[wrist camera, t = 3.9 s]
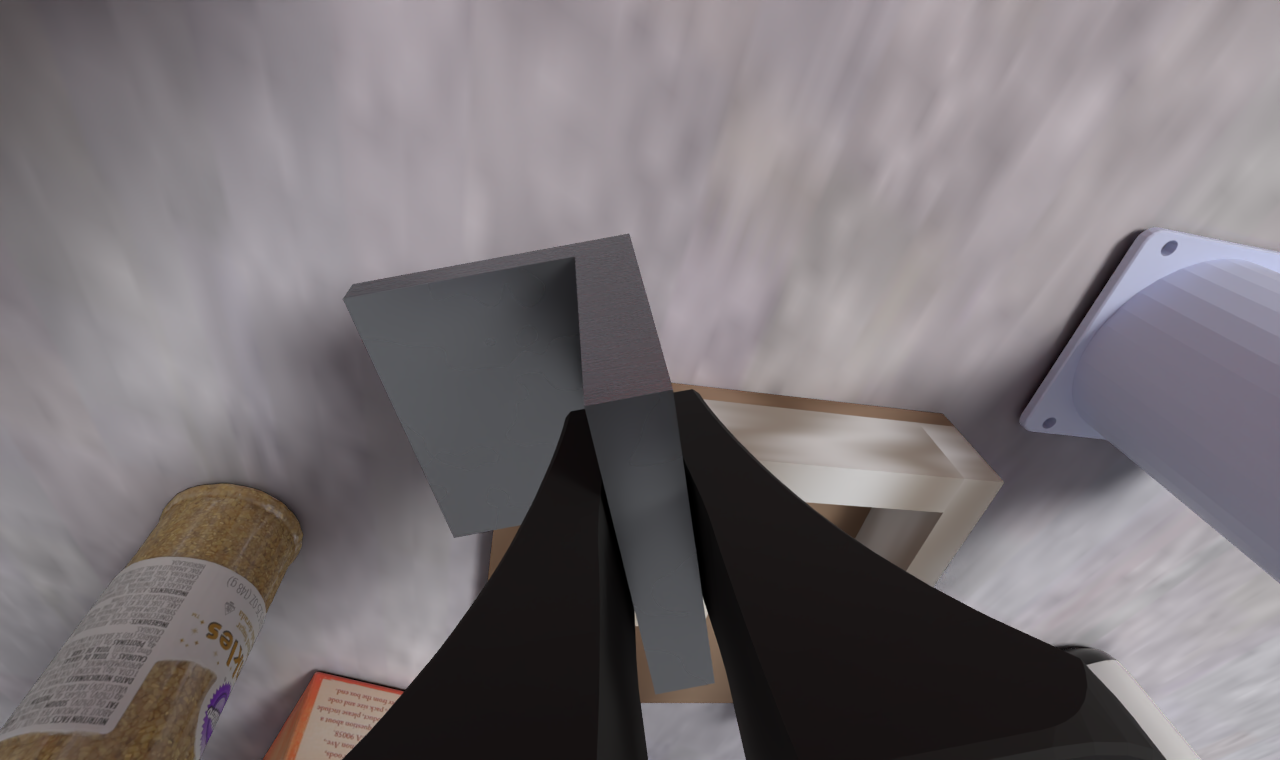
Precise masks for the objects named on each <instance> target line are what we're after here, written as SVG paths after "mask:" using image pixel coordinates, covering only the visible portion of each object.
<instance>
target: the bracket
mask: <svg viewBox="0 0 1280 760" xmlns="http://www.w3.org/2000/svg"><path fill="white" fill-rule="evenodd" d="M343 300H344V302H345V304H346V307H347V309H348V311H349V313H350V315H351V317H352V319H353V322H354V324H355V326H356V328H357V330H358V332H359V334H360V337H361V339H362V341H363V343H364V345H365V347H366V349H367V352H368V354H369V356H370V358H371V360H372V362H373V364H374V367H375V369H376V371H377V373H378V375H379V377H380V380H381V382H382V384H383V386H384V388H385V390H386V392H387V395H388V397H389V399H390V401H391V403H392V405H393V407H394V410H395V412H396V414H397V416H398V418H399V420H400V422H401V425H402V427H403V429H404V431H405V433H406V435H407V437H408V440H409V442H410V444H411V446H412V448H413V450H414V453H415V455H416V457H417V459H418V461H419V463H420V465H421V468H422V470H423V472H424V474H425V476H426V478H427V480H428V483H429V485H430V487H431V489H432V491H433V493H434V495H435V498H436V500H437V502H438V504H439V506H440V508H441V510H442V513H443V515H444V517H445V519H446V521H447V523H448V526H449V528H450V530H451V532H452V534H453V536H454V538H455V537H460V536H465V535H471V534H476V533H481V532H487V531H492V530H497V529H503V528H508V527H513V526H518V525H521V524H522V522H523V520H524V518H525V516H526V514H527V512H528V510H529V508H530V506H531V504H532V502H533V500H534V498H535V496H536V494H537V492H538V489H539V487H540V485H541V483H542V480H543V478H544V476H545V474H546V471H547V469H548V467H549V464H550V462H551V459H552V457H553V454H554V452H555V449H556V446H557V444H558V441H559V438H560V435H561V432H562V429H563V425H564V422H565V418H566V417H567V415H568V414H569V413H570V412H571V411H575V410H580V409H585V411H586V415H587V419H588V423H589V427H590V431H591V435H592V440H593V444H594V448H595V452H596V456H597V460H598V464H599V468H600V472H601V476H602V480H603V484H604V488H605V492H606V496H607V500H608V504H609V508H610V512H611V516H612V520H613V525H614V529H615V533H616V537H617V541H618V545H619V549H620V553H621V557H622V561H623V565H624V569H625V573H626V577H627V581H628V585H629V589H630V593H631V597H632V601H633V606H634V610H635V614H636V618H637V622H638V626H639V630H640V634H641V638H642V642H643V646H644V650H645V654H646V658H647V662H648V666H649V670H650V674H651V678H652V682H653V686H654V691H655V695H656V694H661V693H666V692H671V691H677V690H682V689H687V688H692V687H697V686H703V685H708V684H713V683H715V680H714V673H713V666H712V659H711V652H710V645H709V638H708V631H707V624H706V617H705V610H704V603H703V596H702V589H701V582H700V576H699V569H698V562H697V555H696V548H695V541H694V534H693V527H692V520H691V513H690V506H689V499H688V492H687V485H686V478H685V471H684V464H683V457H682V450H681V443H680V436H679V429H678V422H677V415H676V408H675V401H674V394H673V388H672V385H671V381H670V377H669V374H668V370H667V367H666V363H665V360H664V356H663V352H662V349H661V345H660V342H659V338H658V335H657V331H656V327H655V324H654V320H653V317H652V313H651V310H650V306H649V302H648V299H647V295H646V292H645V288H644V285H643V281H642V277H641V274H640V270H639V267H638V263H637V260H636V256H635V252H634V249H633V245H632V242H631V238H630V235H629V234H625V235H619V236H614V237H608V238H603V239H597V240H592V241H586V242H581V243H575V244H570V245H565V246H559V247H554V248H548V249H543V250H537V251H532V252H526V253H521V254H515V255H510V256H505V257H499V258H494V259H488V260H483V261H477V262H472V263H466V264H461V265H455V266H450V267H445V268H439V269H434V270H428V271H423V272H417V273H412V274H406V275H401V276H395V277H390V278H385V279H379V280H374V281H368V282H363V283H357V284H353V285H352V286H351V288H350V289H349V291H348V292H347V294H346V295H345V297H344V298H343Z"/></svg>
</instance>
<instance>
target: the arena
mask: <svg viewBox="0 0 1280 760" xmlns="http://www.w3.org/2000/svg"><path fill="white" fill-rule="evenodd" d="M671 385H672V388H673V392H679V391H684V390H689V389H693V390H695V391H696V392H698V393H699V394H700V395H701V397H702V398H703V400H704V401H705V402H706V404H707V405H708V406H709V408H710V409H711V410H712V411H713V413H714V414H715V415H716V416H717V417H718V419H719V420H720V421H721V422H722V423H723V424H724V425H725V427H726V428H727V429H728V430H729V431H730V432H731V433H732V434H733V435H734V436H735V438H736V439H737V440H738V441H739V442H740V443H741V444H742V445H743V446H744V447H745V448H746V449H747V450H748V451H749V452H750V453H751V454H752V455H753V456H754V457H755V458H756V459H757V460H758V461H759V462H760V463H761V464H762V465H763V466H764V467H765V468H767V469H768V470H769V471H770V472H771V473H772V474H773V475H774V476H775V477H776V478H777V479H779V480H780V481H781V482H782V483H783V484H784V485H785V486H787V487H788V488H789V489H790V490H791V491H792V492H794V493H795V494H796V495H797V496H798V497H800V498H801V499H802V500H803V501H804V502H806V503H807V504H808V505H809V506H811V507H812V508H813V509H814V510H816V511H817V512H818V513H820V514H821V515H822V516H824V517H825V518H826V519H828V520H829V521H830V522H832V523H833V524H834V525H836V526H837V527H838V528H840V529H841V530H843V531H844V532H846V533H847V534H848V535H850V536H851V537H853V538H854V539H856V540H857V541H859V542H860V543H862V544H863V545H864V546H866V547H867V548H869V549H870V550H872V551H873V552H875V553H876V554H878V555H880V556H881V557H883V558H885V559H886V560H888V561H890V562H891V563H893V564H895V565H896V566H898V567H900V568H901V569H903V570H905V571H906V572H908V573H910V574H911V575H913V576H915V577H916V578H918V579H920V580H921V581H923V582H925V583H926V584H928V585H930V586H931V587H934V585H935V584H936V582H937V581H938V579H939V578H940V576H941V575H942V573H943V572H944V570H945V569H946V568H947V566H948V565H949V563H950V562H951V560H952V559H953V557H954V556H955V554H956V553H957V551H958V550H959V548H960V547H961V546H962V544H963V543H964V541H965V540H966V538H967V537H968V535H969V534H970V532H971V531H972V529H973V528H974V526H975V525H976V524H977V522H978V521H979V519H980V518H981V516H982V515H983V513H984V512H985V510H986V509H987V507H988V506H989V504H990V503H991V502H992V500H993V499H994V497H995V496H996V494H997V493H998V491H999V490H1000V488H1001V487H1002V485H1003V484H1004V481H1003V480H1002V479H1001V478H1000V477H999V476H998V475H997V474H996V472H995V471H994V470H993V469H992V468H991V467H990V466H989V465H988V464H987V462H986V461H985V460H984V459H983V458H982V457H981V456H980V455H979V454H978V452H977V451H976V450H975V449H974V448H973V447H972V446H971V445H970V443H969V442H968V441H967V440H966V439H965V438H964V437H963V436H962V435H961V433H960V432H959V431H958V430H957V429H956V428H955V427H954V426H953V425H952V423H951V422H950V421H949V420H948V419H947V418H946V417H945V416H944V414H940V413H931V412H922V411H913V410H905V409H896V408H887V407H878V406H869V405H861V404H852V403H843V402H834V401H826V400H817V399H808V398H799V397H790V396H782V395H773V394H764V393H755V392H746V391H738V390H729V389H720V388H711V387H703V386H694V385H685V384H676V383H671ZM519 527H520V525H518V526H513V527H508V528H503V529H497V530H493V538H492V547H491V556H490V565H489V574H488V580H489V579H490V577H491V576H492V574H493V573H494V571H495V569H496V568H497V566H498V564H499V563H500V561H501V560H502V558H503V556H504V554H505V553H506V551H507V549H508V548H509V546H510V544H511V542H512V541H513V539H514V537H515V535H516V533H517V531H518V529H519ZM703 603H704V600H703ZM704 610H705V617H706V624H707V631H708V638H709V645H710V652H711V659H712V666H713V673H714V680H715V683H713V684H708V685H703V686H697V687H692V688H687V689H682V690H677V691H671V692H666V693H661V694H656V695H655V691H654V686H653V682H652V678H651V674H650V670H649V666H648V662H647V658H646V654H645V650H644V646H643V642H642V638H641V634H640V630H639V626H638V622H637V618H636V614H635V633H636V658H637V673H638V685H639V695H640V703H733V700H732V696H731V691H730V687H729V683H728V678H727V674H726V670H725V667H724V663H723V660H722V656H721V653H720V649H719V646H718V643H717V640H716V637H715V634H714V631H713V627H712V624H711V621H710V618H709V615H708V612H707V609H706V606H705V603H704Z"/></svg>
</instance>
